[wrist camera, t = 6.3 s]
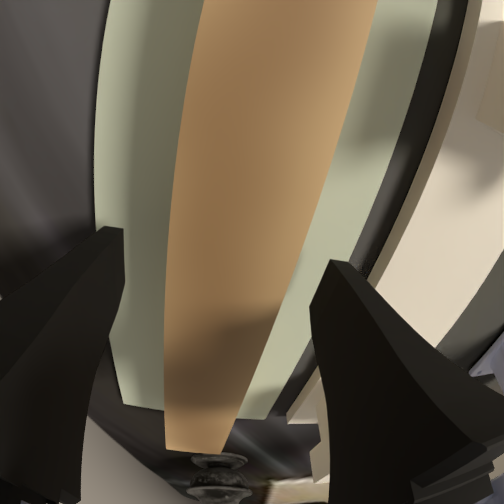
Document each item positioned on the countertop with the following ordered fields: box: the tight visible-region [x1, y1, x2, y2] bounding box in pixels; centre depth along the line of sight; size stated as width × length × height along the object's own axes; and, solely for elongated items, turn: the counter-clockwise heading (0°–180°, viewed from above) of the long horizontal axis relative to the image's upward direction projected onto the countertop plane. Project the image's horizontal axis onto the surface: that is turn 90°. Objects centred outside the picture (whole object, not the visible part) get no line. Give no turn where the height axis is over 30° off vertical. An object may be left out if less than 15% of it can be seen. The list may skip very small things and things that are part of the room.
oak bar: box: [164, 0, 378, 455], centre depth 10 cm, size 3×24×3 cm, turn 168°
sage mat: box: [94, 0, 438, 419], centre depth 11 cm, size 9×26×1 cm, turn 168°
